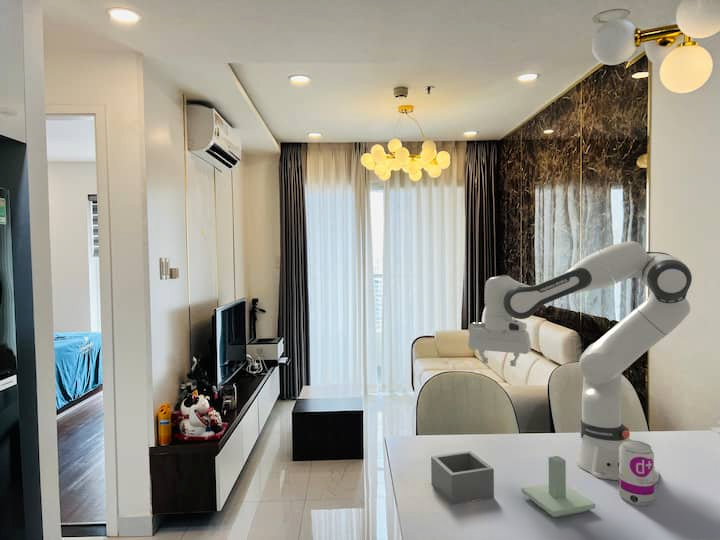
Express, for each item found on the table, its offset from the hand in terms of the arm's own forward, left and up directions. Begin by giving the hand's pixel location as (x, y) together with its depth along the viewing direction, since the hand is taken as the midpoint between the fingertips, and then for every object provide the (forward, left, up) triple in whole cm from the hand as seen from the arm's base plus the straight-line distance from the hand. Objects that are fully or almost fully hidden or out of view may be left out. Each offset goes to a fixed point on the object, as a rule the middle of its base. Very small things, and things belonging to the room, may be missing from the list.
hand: (498, 364), depth 158 cm
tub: (+3, +29, -31) cm, 43 cm away
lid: (-22, +24, -31) cm, 45 cm away
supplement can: (-40, +10, -31) cm, 52 cm away
